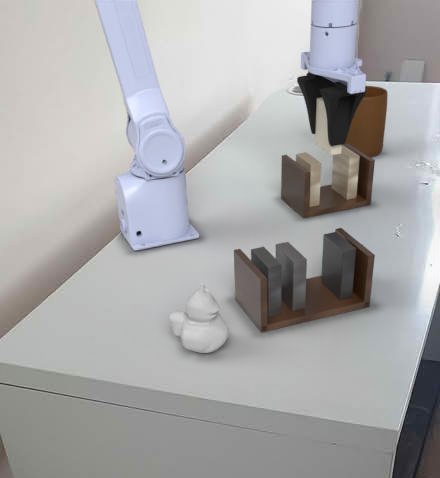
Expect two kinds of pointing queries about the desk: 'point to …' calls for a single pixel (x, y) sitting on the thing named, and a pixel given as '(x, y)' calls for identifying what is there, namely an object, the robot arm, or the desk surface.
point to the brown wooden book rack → (330, 196)
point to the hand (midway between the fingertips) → (328, 138)
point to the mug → (369, 122)
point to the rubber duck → (200, 323)
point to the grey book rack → (303, 282)
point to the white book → (323, 130)
